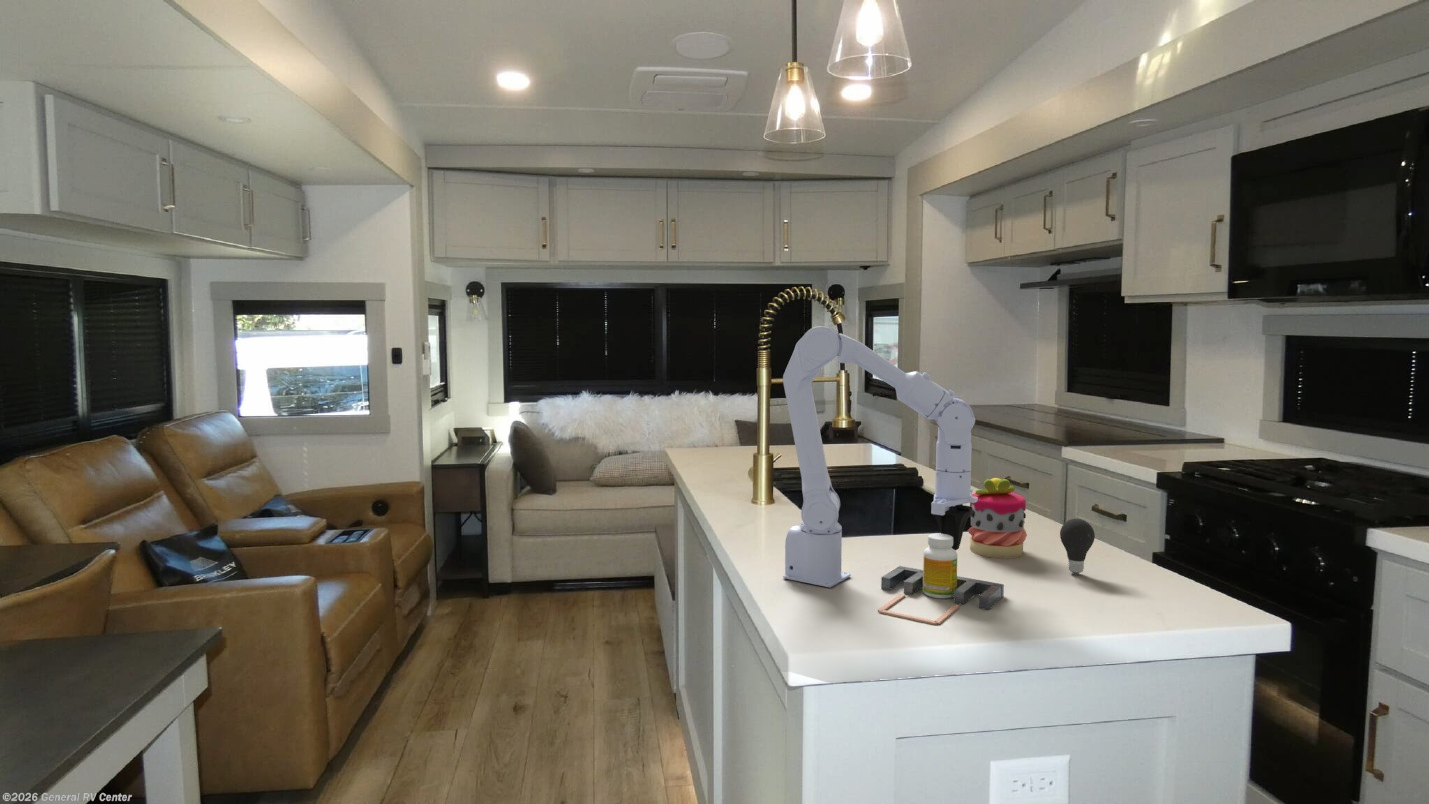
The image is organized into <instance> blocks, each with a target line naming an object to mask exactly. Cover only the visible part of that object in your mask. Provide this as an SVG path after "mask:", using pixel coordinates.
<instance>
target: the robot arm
mask: <svg viewBox="0 0 1429 804" xmlns="http://www.w3.org/2000/svg"><path fill="white" fill-rule="evenodd" d="M837 356H838V357H839V358H838V361H837V362H838V363H839V364H840V363H841V364H853V365H857V366H859V367H860V368H861V369H863V370H865V371H866V372H868V373H870V374H871V375H873V376H874V377H876V378H878V379H880V380H881V381H882V382H884V383H887V385H888V386H889V385H890V386H891V387H892V388H894V389H895V392H896V398H897V400H898V401H900V402H901V403H903V404H905V405H906V406H907V407H908V408H911V409H912V410H913V411H915V412H917V413H918V414H920V415H921V416H923V417H924V418H926V419H927V420H929V421H930V420H931V421H932V420H934V421H935V422H936V424H937V426H938V427H937V441H936V443H935V444H936V447H935V451H936V452H935V489H934V490H935V491H934V494H933V501H932V502H931V503H930V505H931V506H930V507H931V509H930V510H931V511H930V513H931V514H932V515H933V516H934V517H935V519H936V522H937V524H938V527H939V530H940V534H947V535H950V536H952V537H953V546H952V549H954V550H955V551H957V550H959V548H960V546H961V542H962V537H963V534H964V530H965V527H966V524H967V522H968V519H969V518H970V514H971V512H972V507H971V506H970V505H966V504H970V503H975V502H977V500H978V498H977V497H973V496H972V494H973V488H971V487H972V486H971V485H972V483H971V482H972V479H971V478H972V450H973V448H972V447H973V444H972V442H971V439H972V429H973V427H974V426H975V423H976V418H975V415H974V414H975V413H974V411H973V409H972V407H971V406H970V405H969V404H968V403H967V402H966V401H964V400H963V399H962V398H961V397H960V396H955V394H956V392H955V391H953V390H952V389H949V390H947V389H945V388H944V387H942V385H939V384H937V383H936V382H935V381H933V380H932V379H931V378H932V375H930V374H928V373H927V372H926V371H925V372H923V373H921V372H920V371H917V370H916V371H915V370H914V371H911V372H905V371H903V370H902V369H900V368H899V367H898V366H896V365H894V364H893V363H891V362H890V361H889V360H887V359H885V358H884V357H883V356H881V354H878V353H877V352H875V351H874V350H872V349H871V348H869V346H867V345H865V344H864V343H863V342H860V341H859V340H856V339H854V338H852V337H850V336H848V335H846V334H843V333H842V332H841V333H838V332H837V331H836V330H835V329H833V328H832V327H829V326H823V325H820V326H814V327H811V328H810V329H808V330H807V331H806V332H805V333H804V335H803V336H802V337H801V338H800V339H799V340H798V341H797V342H796V344H795V347H794V350H793V352H792V355H791V357H790V359H789V361H788V364H787V366H786V368H785V371H784V373H783V375H782V383H783V388H784V393H785V398H786V404H787V409H788V414H789V419H790V424H791V430H792V436H793V441H794V446H795V450H796V455H797V460H798V462H797V463H798V467H799V470H800V477H801V491H802V492H801V493H802V498H803V503H802V507H801V510H800V516H801V520H802V522H801V523H800V525H799V524H796V525H793V526H791V527H790V528H789V529H788V531H787V532H786V533H787V534H786V537H785V545H784V548H785V550H784V551H785V553H784V556H785V557H784V560H785V561H784V564H785V565H784V566H785V567H784V574H783V575H782V578H783V579H786V580H791V581H796V582H801V583H805V584H806V583H807V584H809V585H815V586H819V587H820V586H821V587H826V588H832V587H834V586H836V585H838V584H839V583H841V582H843V581H845V580H846V579H848V578H850V577H851V573H849V572H844V571H842V555H843V554H842V549H843V548H842V546H843V545H842V543H843V540H842V538H843V537H842V535H843V533H842V532H843V530H842V529H843V528H842V527H843V526H842V525H841V524H840V523H839V522H838V521H839V515H840V514H839V511H840V509H841V500H840V497H839V495H838V493H837V492H836V491H835V489H834V488H833V486H832V485H833V484H832V481H831V476H830V475H829V471H828V465H827V461H826V455H825V451H824V444H823V440H822V435H821V428H820V424H819V420H818V419H819V417H818V413H817V408H816V404H815V398H814V392H813V386H812V383H813V381H814V380H815V379H816V377H817V376H818V374H819V373H820V372H821V370H822V369H823V368H824V367H825V366H826V365H828V364H829V363H830V362H832V361H833V360H834V359H835V358H836V357H837ZM964 504H965V505H964Z"/></svg>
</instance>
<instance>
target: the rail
mask: <svg viewBox="0 0 1429 804" xmlns="http://www.w3.org/2000/svg"><path fill="white" fill-rule="evenodd" d="M880 580H881V581H880V583H881V585H880V586H881V589H882V590H887V591H890V590H893V589H894V588H895V587H897V586H898V585H899V584H902V583H903V594H905V595H906V594H907V595H911V596H912V595H914V594H915V593H917V592H919V591H920V590H921V589H923V569H918V568H913V567H908V566H903V565H902V566H901V565H899V566H897V567H896V568H893V570H891V571H889V572H887V573H885V575H883V576H881V578H880ZM1004 588H1005V585H1004V584H1002V583H996V582H994V581H993V582H992V581H987V580H980V579H976V578H972V577H969V578H968V577H964V576H959V575H957V589H956V590H955V591H954V597H953V598H954V599H953V603H954V604H955V605H961V606H962V605H963V606H964V605H965V604H966V603H967V602H969V601H970V600H971V599H972V598H973V597H975V596H976V595H978V596H979V598H978V599H979V603H978V604H979V605H978V607H979V609H982V610H986V611H987V610H988V611H989V610H991V609H992V608H993V606H995V605H996V604H998V602H999V601H1000V600H1001V599H1003V597H1004V594H1005V589H1004Z"/></svg>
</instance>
